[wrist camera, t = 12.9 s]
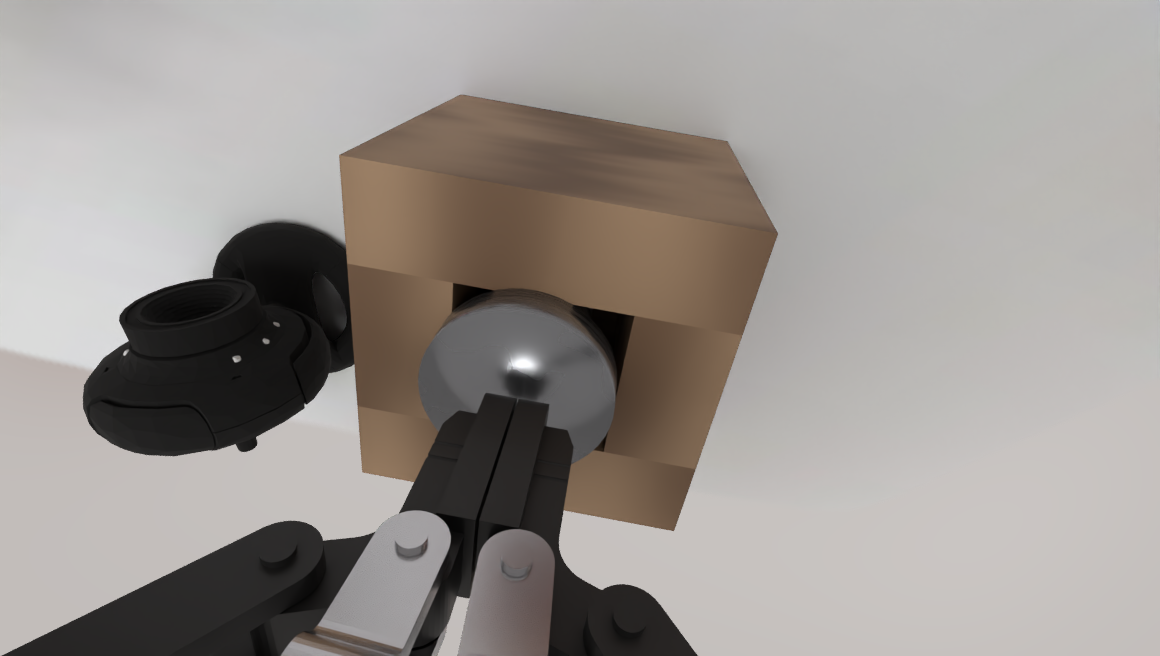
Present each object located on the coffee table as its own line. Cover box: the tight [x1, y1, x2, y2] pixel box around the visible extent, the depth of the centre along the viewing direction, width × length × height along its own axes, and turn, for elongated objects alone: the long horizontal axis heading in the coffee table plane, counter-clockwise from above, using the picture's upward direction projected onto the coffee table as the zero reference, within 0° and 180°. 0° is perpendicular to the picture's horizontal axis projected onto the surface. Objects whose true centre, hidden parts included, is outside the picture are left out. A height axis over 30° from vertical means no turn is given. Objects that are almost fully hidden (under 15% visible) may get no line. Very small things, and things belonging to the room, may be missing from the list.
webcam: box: [83, 223, 354, 456], centre depth 22 cm, size 8×8×10 cm
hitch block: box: [339, 95, 778, 531], centre depth 19 cm, size 10×10×10 cm
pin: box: [418, 288, 617, 464], centre depth 18 cm, size 5×5×10 cm
